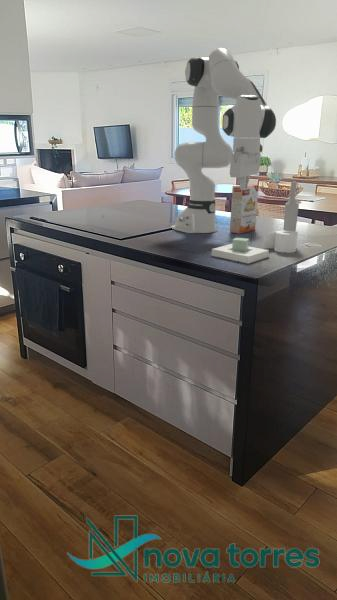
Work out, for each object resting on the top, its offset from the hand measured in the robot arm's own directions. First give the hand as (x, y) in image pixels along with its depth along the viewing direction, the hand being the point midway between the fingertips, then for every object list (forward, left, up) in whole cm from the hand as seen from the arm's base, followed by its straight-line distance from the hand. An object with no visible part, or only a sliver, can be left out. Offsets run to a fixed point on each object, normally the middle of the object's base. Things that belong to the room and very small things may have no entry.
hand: (243, 189), depth 155 cm
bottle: (+4, +28, -24) cm, 37 cm away
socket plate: (0, 0, -24) cm, 24 cm away
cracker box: (-26, +40, -24) cm, 53 cm away
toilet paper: (+5, +20, -24) cm, 32 cm away
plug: (0, 0, -24) cm, 24 cm away
